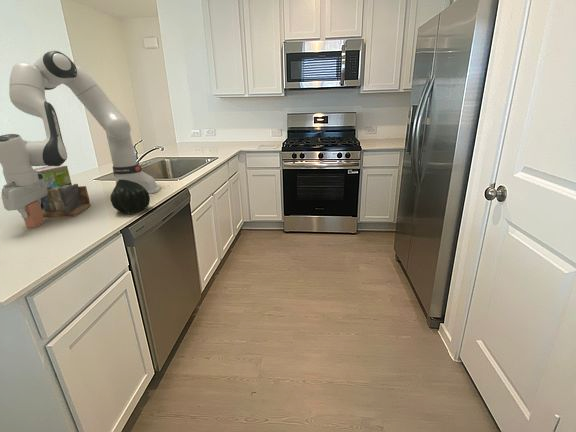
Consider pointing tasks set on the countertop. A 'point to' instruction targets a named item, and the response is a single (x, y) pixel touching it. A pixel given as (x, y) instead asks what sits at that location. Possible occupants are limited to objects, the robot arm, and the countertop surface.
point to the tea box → (55, 175)
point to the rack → (65, 201)
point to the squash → (129, 197)
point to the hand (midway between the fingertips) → (32, 213)
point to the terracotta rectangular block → (33, 215)
